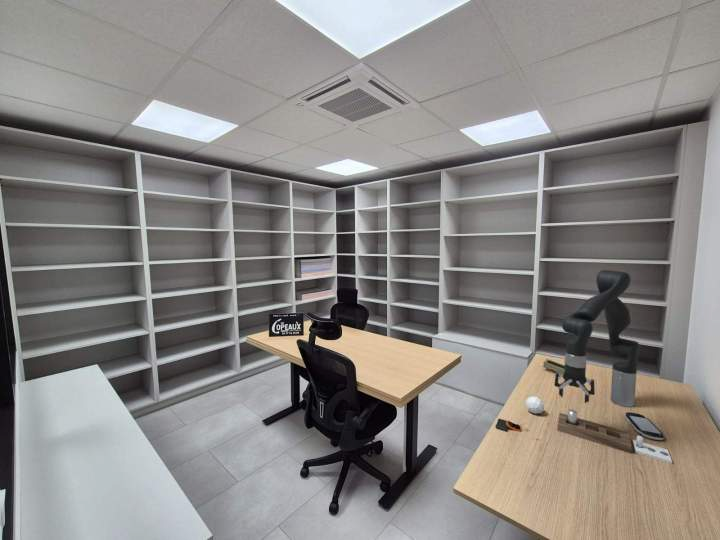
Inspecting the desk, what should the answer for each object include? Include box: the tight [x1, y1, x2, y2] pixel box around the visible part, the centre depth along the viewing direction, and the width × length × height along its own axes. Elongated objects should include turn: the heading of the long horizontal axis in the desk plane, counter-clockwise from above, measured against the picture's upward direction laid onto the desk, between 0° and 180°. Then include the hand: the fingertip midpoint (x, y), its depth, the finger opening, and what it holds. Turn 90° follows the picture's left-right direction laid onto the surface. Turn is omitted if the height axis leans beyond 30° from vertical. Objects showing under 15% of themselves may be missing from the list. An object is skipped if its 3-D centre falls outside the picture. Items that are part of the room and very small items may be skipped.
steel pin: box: [567, 409, 578, 426], centre depth 132 cm, size 3×3×8 cm
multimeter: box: [495, 418, 539, 441], centre depth 132 cm, size 18×12×3 cm, turn 50°
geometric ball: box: [525, 395, 545, 415], centre depth 145 cm, size 8×8×8 cm
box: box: [542, 358, 587, 379], centre depth 187 cm, size 8×22×5 cm, turn 48°
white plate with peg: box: [632, 435, 673, 465], centre depth 116 cm, size 8×10×5 cm
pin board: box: [557, 412, 632, 454], centre depth 128 cm, size 11×24×3 cm, turn 53°
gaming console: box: [624, 411, 666, 442], centre depth 132 cm, size 19×9×2 cm, turn 158°
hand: (573, 399), depth 131 cm, fingers open, 8 cm apart
